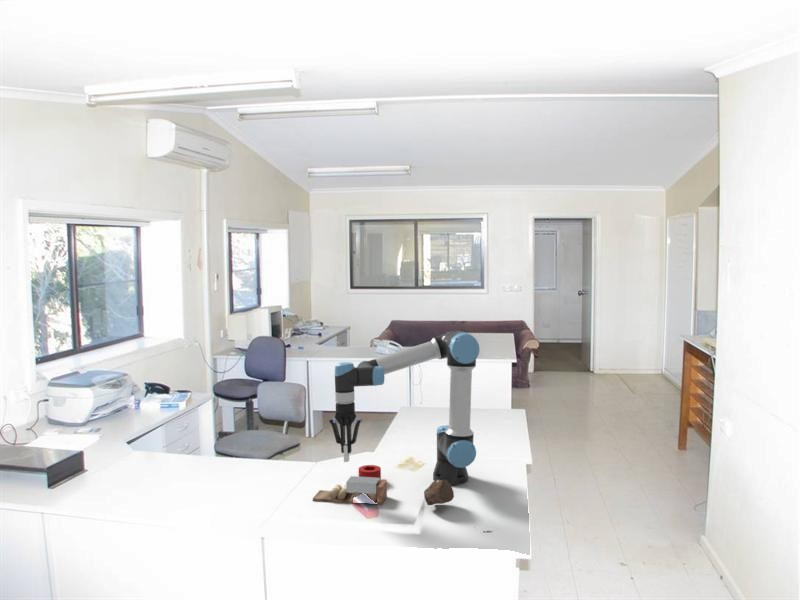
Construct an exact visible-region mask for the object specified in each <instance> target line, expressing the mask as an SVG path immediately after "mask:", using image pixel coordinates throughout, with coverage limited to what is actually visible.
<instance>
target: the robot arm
mask: <svg viewBox="0 0 800 600" xmlns="http://www.w3.org/2000/svg"><path fill="white" fill-rule="evenodd" d="M479 354H480V344H479V341H478V340H477V339H476V338H475V337H474V336H473V335H472V334H470V333H468V332H464V331H462V330H451V331H448V332H446V333H443V334H441V335H438V336H435V337H432V339H431V340H430V341H427V342H424V343H421V344H418V345H415V346H412V347H408V348H405V349H401V350H399V351H396V352H392V353H390V354H387V355H383V356H380V357H378V358H377V357H376V358H375V359H371V360H362V361H360V362H359V363H358V364H357V366H356V367H355V365H354V363H353V362H346V361H345V362H338V363H336V364H335V366H334V386H335V387H334V389H335V390H334V392H335V393H334V395H335V415H334V417H332V418H331V419H329V423H330V425H331V426H332V427H331V428H332V430H333V434H334V439H335V443H336V444H339V445H340V447H341V448H340V451H341V453H342V454H343V463H348V462H349V461H350V454H351V453H352V445H354V444H355V443H356V441H357V438H358V433H359V429H360V425H361V423H362V421H363V420H362V419H361V418H359V417H358V416H357V415H356V404H355V400H356V399H355V388H356V387H373V386H375V387H376V386H382V385H384V384H385V375H388V374H391V373H394V372H398V371H400V370H401V371H402V370H404V369H406V368H407V369H408V368H410V367H413V366H416V365H418V364H422V363H425V362H428V361H431V360H434V359H438V360H442V359H446V361H447V362H446V366H447V367H448V368H449V370H450V375H449V376H450V383H449V408H448V409H449V410H448V411H449V415H448V417H449V418H448V425H440V426H438V427H437V428H436V433H435V434H436V463H435V467H434V469H433V471H432V472H433V475H432V479H433V482H434V481H436V480H447V481H448V482H449V484H450V485H451V486H452V485H453V486H454V485H461V484H465V483H466V482H468V481H469V473H468V470H467V467H468V466H470V465H472V463H474V461H475V459H476V456H477V450H476V446H475V445H474V435H475V434H474V431H473V430H472V429H471V410H472V409H471V407H472V375H473V372H472V371H473V370H474V369H475V368H476V366H477V365H476V364H477V358H478V357H479ZM353 423H354V424H355V425H354V428H353V433H352V424H353ZM338 424H339V427H338ZM339 430H340V432H339Z"/></svg>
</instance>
